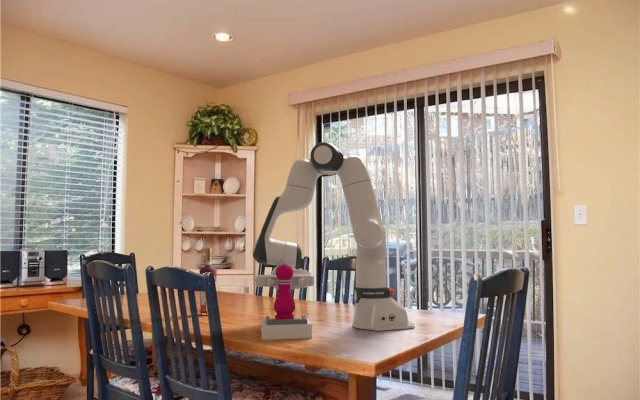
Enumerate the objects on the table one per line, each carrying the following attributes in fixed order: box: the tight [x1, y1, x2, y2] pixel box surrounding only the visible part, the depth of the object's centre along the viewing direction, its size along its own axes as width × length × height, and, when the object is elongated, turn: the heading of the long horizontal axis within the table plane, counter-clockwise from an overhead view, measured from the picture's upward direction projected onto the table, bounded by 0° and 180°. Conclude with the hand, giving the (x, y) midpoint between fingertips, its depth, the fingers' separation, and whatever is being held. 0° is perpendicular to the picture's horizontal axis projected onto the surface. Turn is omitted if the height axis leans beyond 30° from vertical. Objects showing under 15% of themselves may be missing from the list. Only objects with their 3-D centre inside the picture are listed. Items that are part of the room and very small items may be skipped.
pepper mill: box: [273, 260, 296, 320], centre depth 159 cm, size 7×7×20 cm
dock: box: [260, 314, 313, 341], centre depth 159 cm, size 16×14×6 cm
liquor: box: [198, 248, 218, 314], centre depth 203 cm, size 7×7×28 cm
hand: (286, 282), depth 159 cm, fingers open, 8 cm apart
